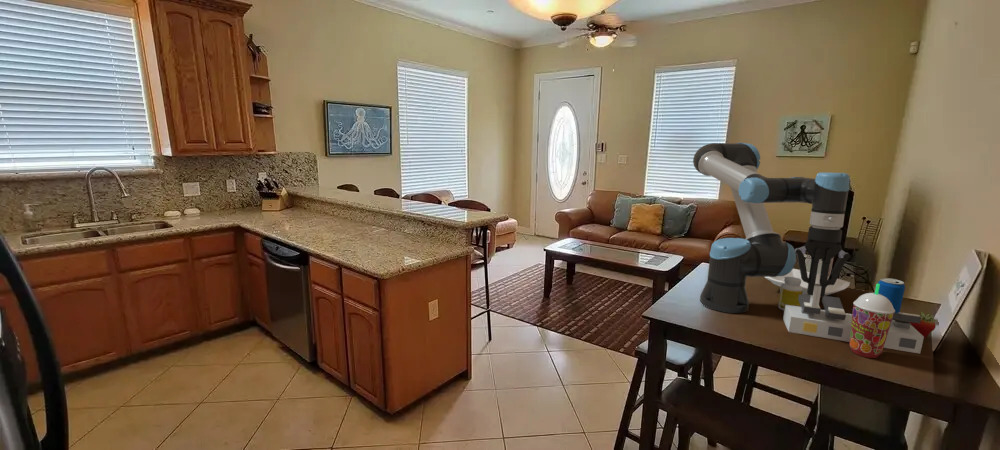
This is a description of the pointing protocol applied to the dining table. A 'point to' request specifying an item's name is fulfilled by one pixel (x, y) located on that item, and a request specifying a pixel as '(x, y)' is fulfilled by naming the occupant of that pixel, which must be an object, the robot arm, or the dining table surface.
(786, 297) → the pill bottle
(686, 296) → the dining table surface
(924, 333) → the fruit
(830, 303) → the rocker
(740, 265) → the robot arm
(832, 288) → the bowl
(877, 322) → the smoothie
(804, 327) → the switch unit
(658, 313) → the dining table surface
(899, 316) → the rocker
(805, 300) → the rocker
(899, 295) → the beverage can
